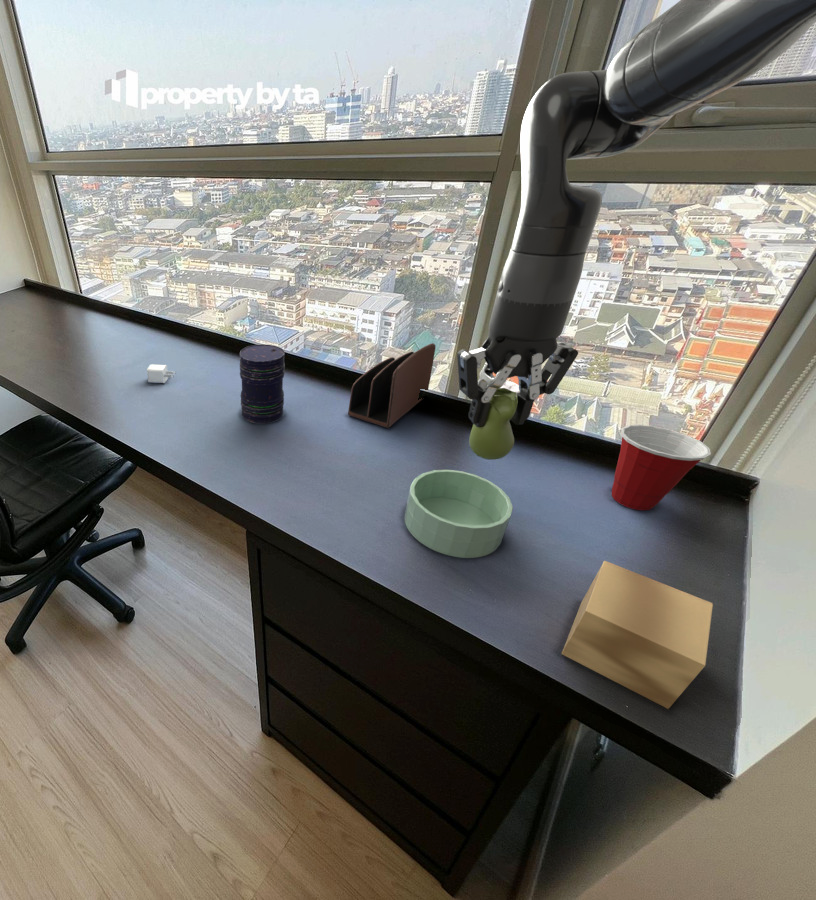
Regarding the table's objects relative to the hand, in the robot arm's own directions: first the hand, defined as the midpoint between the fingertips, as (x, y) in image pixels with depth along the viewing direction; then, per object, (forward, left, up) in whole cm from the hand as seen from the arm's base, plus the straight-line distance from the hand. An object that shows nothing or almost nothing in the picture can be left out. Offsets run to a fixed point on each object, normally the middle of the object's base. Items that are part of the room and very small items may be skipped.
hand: (496, 422), depth 64 cm
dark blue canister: (+50, +12, -21) cm, 55 cm away
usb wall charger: (+78, +29, -21) cm, 86 cm away
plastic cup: (-3, -32, -21) cm, 38 cm away
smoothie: (+24, -29, -21) cm, 43 cm away
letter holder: (+41, -16, -21) cm, 48 cm away
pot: (+3, 0, -21) cm, 21 cm away
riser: (-22, -3, -21) cm, 31 cm away
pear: (0, 0, -6) cm, 6 cm away
